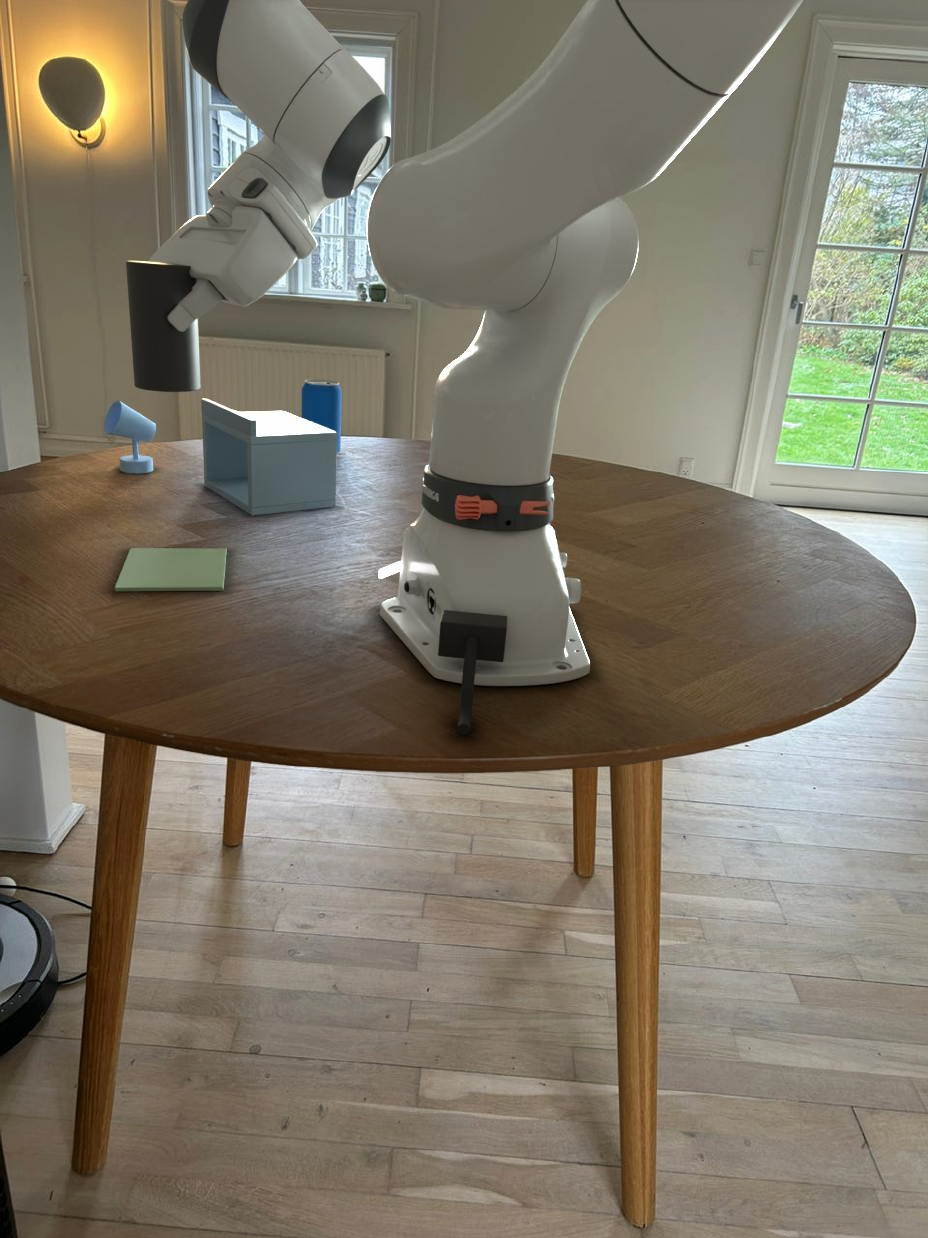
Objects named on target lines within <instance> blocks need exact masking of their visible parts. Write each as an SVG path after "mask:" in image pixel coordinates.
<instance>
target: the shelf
mask: <svg viewBox="0 0 928 1238" xmlns="http://www.w3.org/2000/svg"><path fill="white" fill-rule="evenodd" d="M200 403H201V404H200V405H201V427H202V428H201V429H202V452H203V481H204V482H203V483H204V486H205V488H208V489H209V490H211V491H213V492H214V493H216V494H217V495H219V496H220V497H221V498H223V499H225V500H227V501H228V502H229V503H232V504H233V505H235V506H236V507H238V508H239V509H241V510H243V511H244V512H246V513H247V514H249V515H250V516H253V517H254V516H261V515H271V514H281V513H289V512H297V511H309V510H316V509H325V508H334V507H336V506H337V464H338V463H337V461H338V459H337V457H338V455H337V432H335V431H333V430H330V429H328V428H325V427H322V426H320V425H317V424H315V423H312V422H310V421H307V420H305V419H302V418H301V417H299V416H297V415H295V414H292V413H289V412H287V411H284V410H267V411H265V410H264V411H262V410H261V411H237V410H234V409H232V408H230V407H227V406H226V405H223V404H220V403H218V402H216V401H213V400H211V399H209V398H206V397H205V398H204V397H203V398H200Z"/></svg>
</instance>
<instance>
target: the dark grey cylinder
mask: <svg viewBox="0 0 928 1238" xmlns="http://www.w3.org/2000/svg"><path fill="white" fill-rule="evenodd" d="M125 268H126V269H125V270H126V282H127V296H128V297H127V299H128V311H129V326H130V327H129V328H130V340H131V341H130V343H131V353H132V369H133V384H134V387H135V388H137V389H139V390H144V391H151V392H162V393H187V392H195V391H199V390H200V389H201V362H200V341H199V340H200V339H199V337H200V336H199V335H200V334H199V318H198V319H196V320H195V321H194V322H193V323H192V324H191V325H190V326H189V327H188V328H187V329H186V330H185V331H183V332H181V331H178V330H175V329H173V328H172V327H171V326H170V325H169V324H168V323H167V322H166V321H165V318H164V316H165V314H166V312H168V311H169V310H170V308H171V307H172V306H173V305H174V304H175V303H177V304H179V302H180V301H181V300H183V299H184V298H185V297H186V296H187V295H188V294H189V293H190V292H191V291H192V287H193V286H194V285H195V284H196V278H193V277H191V276H190V273H189V270H190V268H191V266H187V265H180V264H173V263H161V262H149V261H143V260H125Z"/></svg>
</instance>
